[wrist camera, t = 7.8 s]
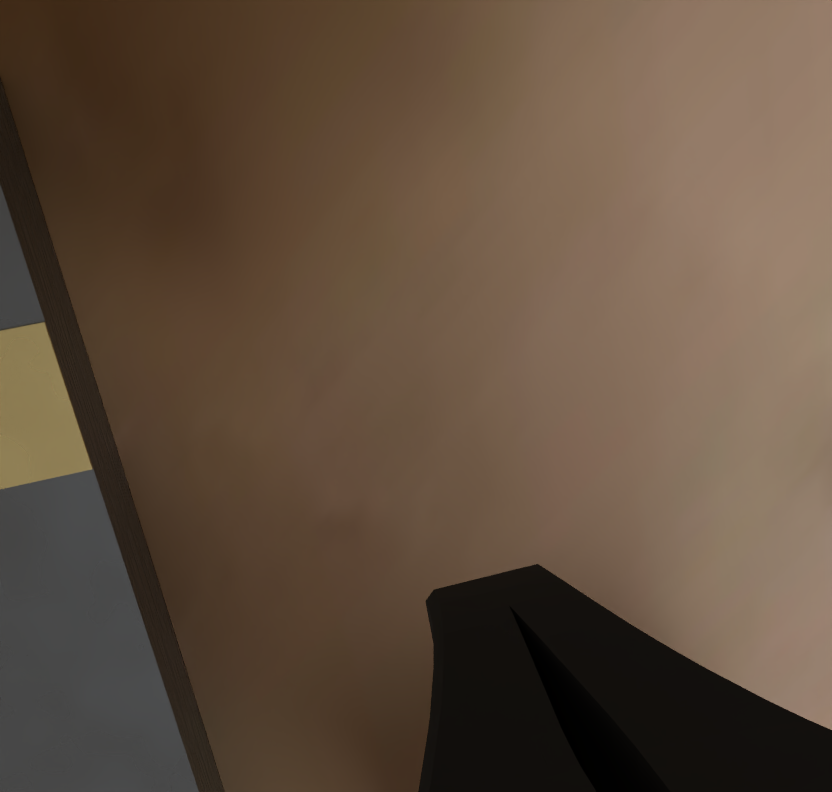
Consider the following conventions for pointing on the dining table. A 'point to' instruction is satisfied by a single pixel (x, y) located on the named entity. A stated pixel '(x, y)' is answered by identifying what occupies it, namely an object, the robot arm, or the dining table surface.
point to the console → (74, 553)
